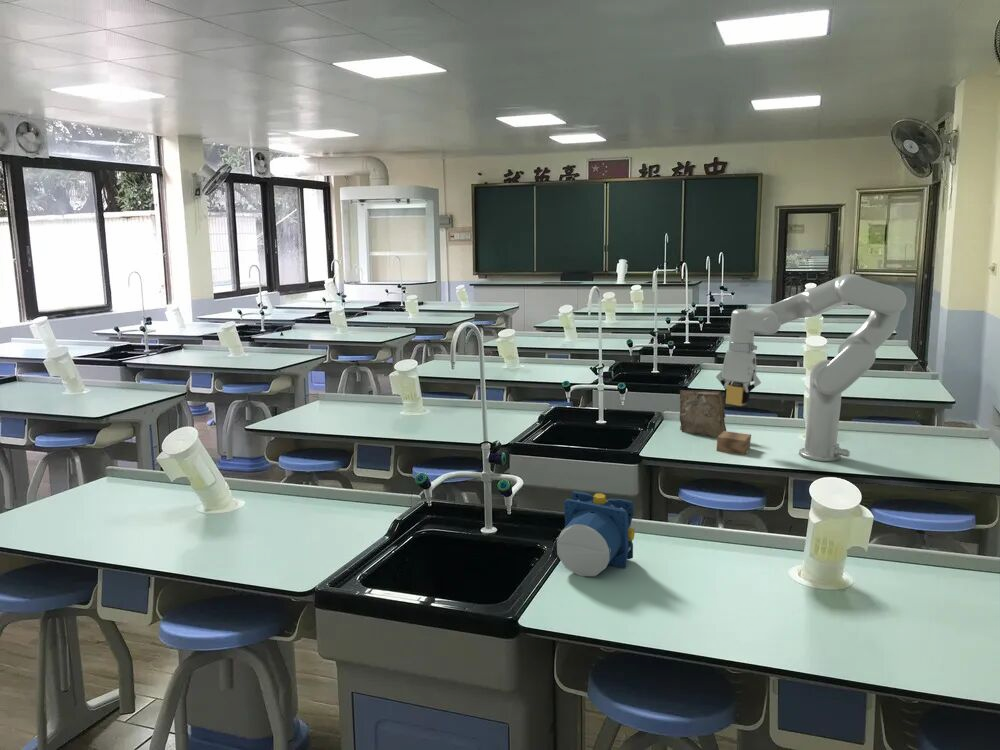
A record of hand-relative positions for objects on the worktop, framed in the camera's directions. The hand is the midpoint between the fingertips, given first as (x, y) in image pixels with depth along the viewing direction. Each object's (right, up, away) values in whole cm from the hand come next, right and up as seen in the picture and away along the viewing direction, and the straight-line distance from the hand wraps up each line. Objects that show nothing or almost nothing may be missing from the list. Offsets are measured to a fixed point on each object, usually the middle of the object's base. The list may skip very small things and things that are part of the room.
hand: (736, 401), depth 262 cm
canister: (0, -1, 0) cm, 1 cm away
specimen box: (0, -16, +3) cm, 17 cm away
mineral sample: (-6, -13, +22) cm, 26 cm away
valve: (-58, -33, -89) cm, 111 cm away
